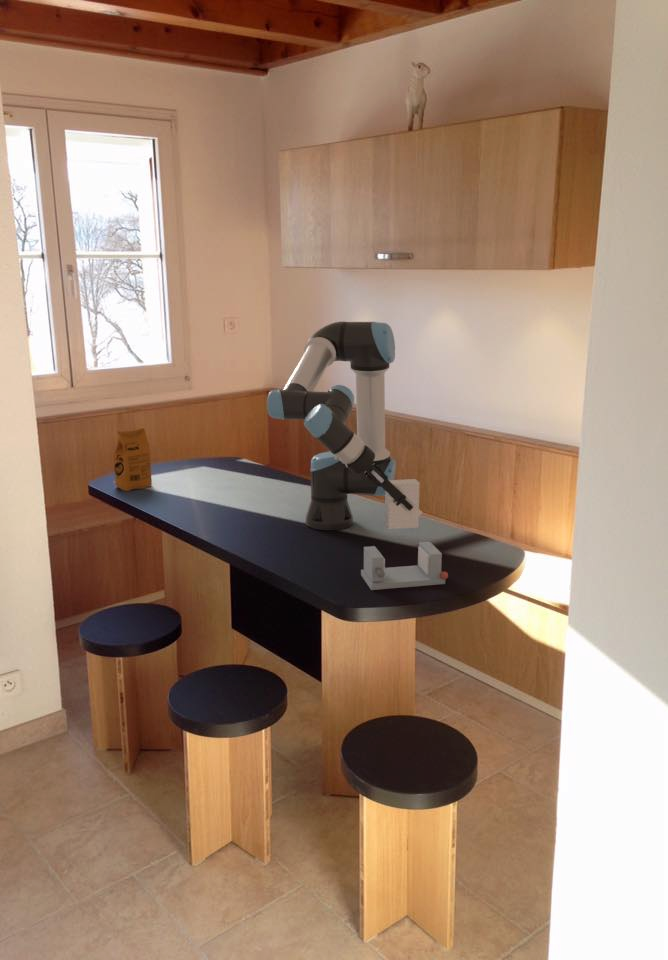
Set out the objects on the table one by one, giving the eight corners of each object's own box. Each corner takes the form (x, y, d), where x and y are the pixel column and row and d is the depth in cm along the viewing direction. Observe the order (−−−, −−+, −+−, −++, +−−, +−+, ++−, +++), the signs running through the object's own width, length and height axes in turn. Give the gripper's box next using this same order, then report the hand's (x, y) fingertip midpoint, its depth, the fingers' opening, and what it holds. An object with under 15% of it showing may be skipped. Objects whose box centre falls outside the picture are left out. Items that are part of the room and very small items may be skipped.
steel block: (384, 524, 225) (385, 480, 222) (414, 522, 226) (415, 479, 223) (388, 529, 221) (389, 484, 218) (418, 527, 223) (419, 482, 220)
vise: (360, 574, 231) (361, 545, 229) (433, 569, 235) (434, 540, 233) (372, 591, 219) (372, 561, 217) (448, 585, 223) (449, 555, 221)
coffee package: (112, 487, 319) (108, 429, 313) (142, 481, 327) (139, 424, 321) (124, 492, 312) (120, 433, 306) (155, 486, 319) (151, 428, 314)
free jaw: (363, 569, 230) (363, 546, 228) (376, 568, 230) (376, 545, 229) (376, 587, 217) (376, 563, 216) (389, 586, 218) (389, 562, 216)
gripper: (337, 457, 225) (397, 514, 232) (351, 473, 208) (415, 533, 216) (357, 436, 224) (416, 494, 232) (373, 451, 208) (436, 512, 215)
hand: (416, 513), depth 224 cm, fingers closed on steel block, 4 cm apart
